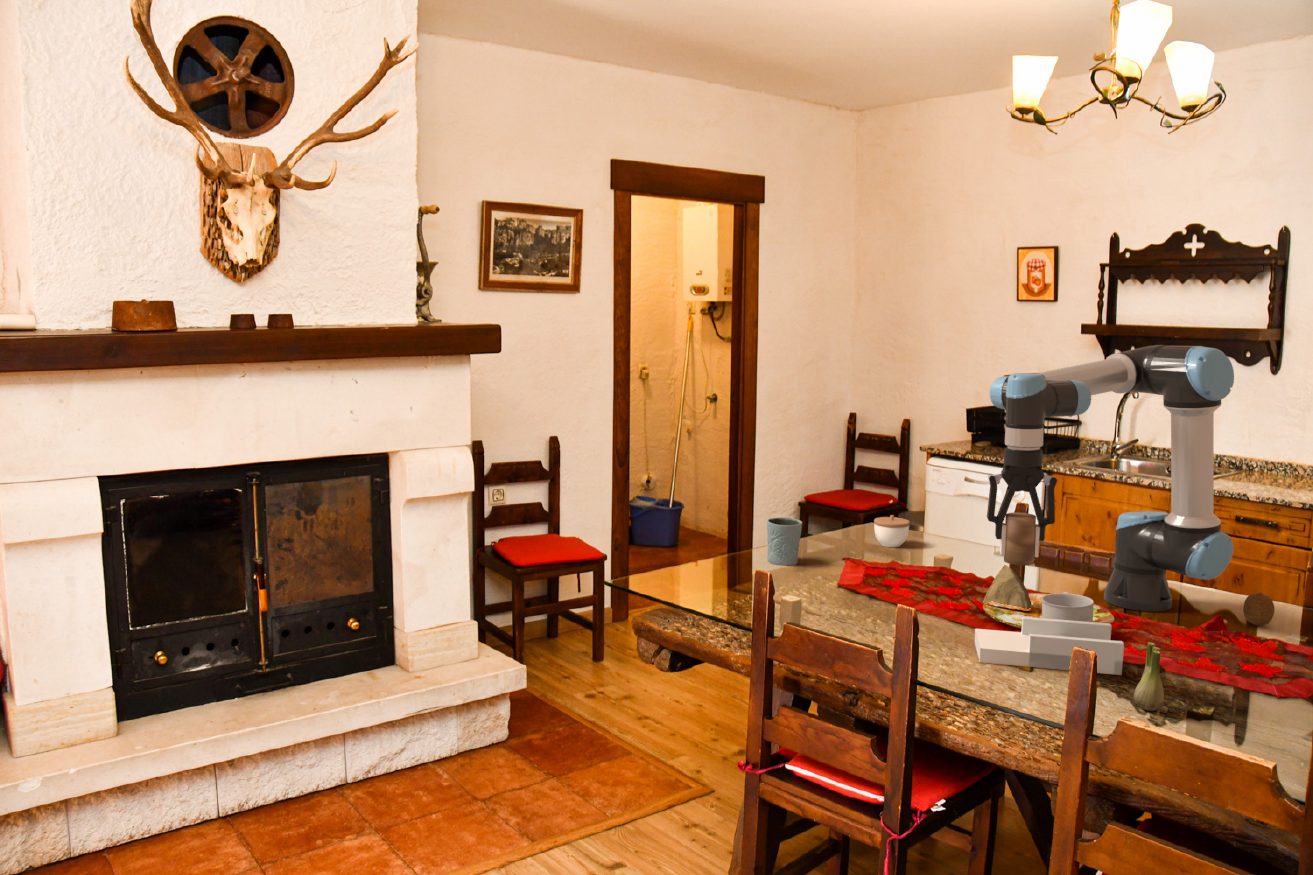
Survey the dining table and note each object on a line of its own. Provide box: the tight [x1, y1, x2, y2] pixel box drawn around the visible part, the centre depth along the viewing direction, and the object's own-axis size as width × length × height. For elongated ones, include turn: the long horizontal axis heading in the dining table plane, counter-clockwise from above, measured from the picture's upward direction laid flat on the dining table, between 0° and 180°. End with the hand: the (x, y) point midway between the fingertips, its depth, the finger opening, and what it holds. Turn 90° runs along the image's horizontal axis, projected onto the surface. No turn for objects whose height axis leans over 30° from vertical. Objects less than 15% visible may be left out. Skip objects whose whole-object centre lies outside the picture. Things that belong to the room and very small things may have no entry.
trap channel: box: [974, 616, 1125, 676], centre depth 202 cm, size 27×13×6 cm, turn 76°
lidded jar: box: [873, 514, 911, 548], centre depth 300 cm, size 11×11×9 cm
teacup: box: [1041, 591, 1095, 622], centre depth 220 cm, size 14×11×8 cm
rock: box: [982, 565, 1033, 609], centre depth 237 cm, size 11×9×10 cm
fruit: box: [1242, 592, 1275, 627], centre depth 225 cm, size 6×6×8 cm
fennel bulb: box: [1133, 641, 1165, 712], centre depth 177 cm, size 6×5×12 cm
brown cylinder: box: [1003, 511, 1037, 566], centre depth 206 cm, size 6×6×10 cm
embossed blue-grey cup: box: [766, 516, 803, 567], centre depth 278 cm, size 10×10×12 cm
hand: (1018, 554), depth 206 cm, fingers closed on brown cylinder, 6 cm apart
